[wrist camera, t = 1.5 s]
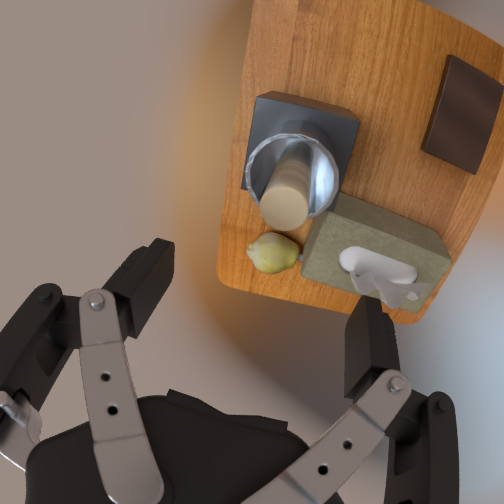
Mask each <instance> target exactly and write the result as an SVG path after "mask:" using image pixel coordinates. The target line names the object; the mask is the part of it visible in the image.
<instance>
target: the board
mask: <svg viewBox="0 0 504 504" xmlns="http://www.w3.org/2000/svg"><path fill="white" fill-rule="evenodd" d="M503 90H504V86H503V85H502V84H500V83H499V82H497V81H496V80H494V79H493V78H491V77H489V76H488V75H486V74H485V73H483V72H482V71H480V70H478V69H477V68H475V67H473V66H472V65H470V64H468V63H466V62H465V61H463V60H461V59H459V58H457V57H455V56H454V55H447V59H446V64H445V68H444V72H443V76H442V80H441V83H440V87H439V91H438V94H437V98H436V101H435V105H434V108H433V111H432V115H431V118H430V121H429V124H428V127H427V130H426V133H425V136H424V139H423V142H422V145H421V149H422V150H423V151H424V152H427V153H429V154H431V155H433V156H436V157H438V158H440V159H442V160H444V161H447V162H449V163H451V164H453V165H455V166H457V167H459V168H461V169H463V170H465V171H467V172H469V173H471V174H473V175H476V173H477V170H478V168H479V165H480V163H481V160H482V157H483V155H484V152H485V149H486V146H487V143H488V140H489V138H490V135H491V132H492V128H493V125H494V122H495V119H496V115H497V112H498V109H499V105H500V101H501V98H502V94H503Z"/></svg>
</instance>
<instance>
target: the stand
mask: <svg viewBox="0 0 504 504" xmlns="http://www.w3.org/2000/svg"><path fill="white" fill-rule="evenodd" d="M288 120H305V121H308V122H310V123H313V124H315V125H318V126H319V127H320V128H321V129H322V130H323V131H324V132H325V133H326V134H327V135H328V136H329V137H330V140H331V142H332V144H333V147H334V149H335V154H336V159H337V164H338V170H339V187H338V191H337V193H336V195H335V197H334V199H333V201H332V203H331V204H330V206H329V207H328V208H326V209H325V210H327V211H330V212H334V209H335V205H336V202H337V199H338V196H339V193H340V190H341V187H342V183H343V180H344V177H345V173H346V170H347V167H348V163H349V160H350V157H351V153H352V150H353V146H354V143H355V139H356V136H357V132H358V128H359V125H360V121H359V120H358V119H357V118H356V116H355V115H354V114H353V113H352V112H351V111H350V110H349V109H345V108H342V107H338V106H335V105H331V104H327V103H323V102H320V101H316V100H312V99H307V98H303V97H299V96H294V95H290V94H285V93H280V92H275V91H270V92H268V93H265V94H262V95H259V96H257V97H256V102H255V108H254V113H253V119H252V125H251V131H250V136H249V142H248V148H247V154H246V160H245V166H244V172H243V178H242V184H241V189H243V190H247V191H248V189H247V187H246V176H245V169H246V166H247V163H248V160H249V157H250V154H251V153H252V152H253V150H254V149H255V148H256V147H257V145H258V144H259V143H260V142H261V141H262V139H263V138H264V137H265V136H266V135H267V134H268V133H269V132H270V131H271V130H272V128H273V127H274V126H276V125H278V124H280V123H283V122H285V121H288Z"/></svg>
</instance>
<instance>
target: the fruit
mask: <svg viewBox="0 0 504 504" xmlns="http://www.w3.org/2000/svg"><path fill="white" fill-rule="evenodd" d="M246 253H247V255H248V256H249V258H250V259H251V260H252V261H253V263H254V265H255V267H256V268H257V269H258V270H260V271H261V272H264V273H267V274H277V273H280V272H282V271H283V270H285V269H289V268H292V267H293V265H294V264H295V262H296V261H297V260H298V261H302V258H303V255H301V254H299V246H298V245H297V244H296V243H295V242H293V241H291V240H289V239H288V238H286V237H284V236H283V235H281V234H278V233H274V232H268V233H264V234H262V235H261V236H260V237H259V238H258V239H257V240H256V241H255V242H253V243H251V244H250V245H249V247H248V249H247V251H246Z"/></svg>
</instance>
